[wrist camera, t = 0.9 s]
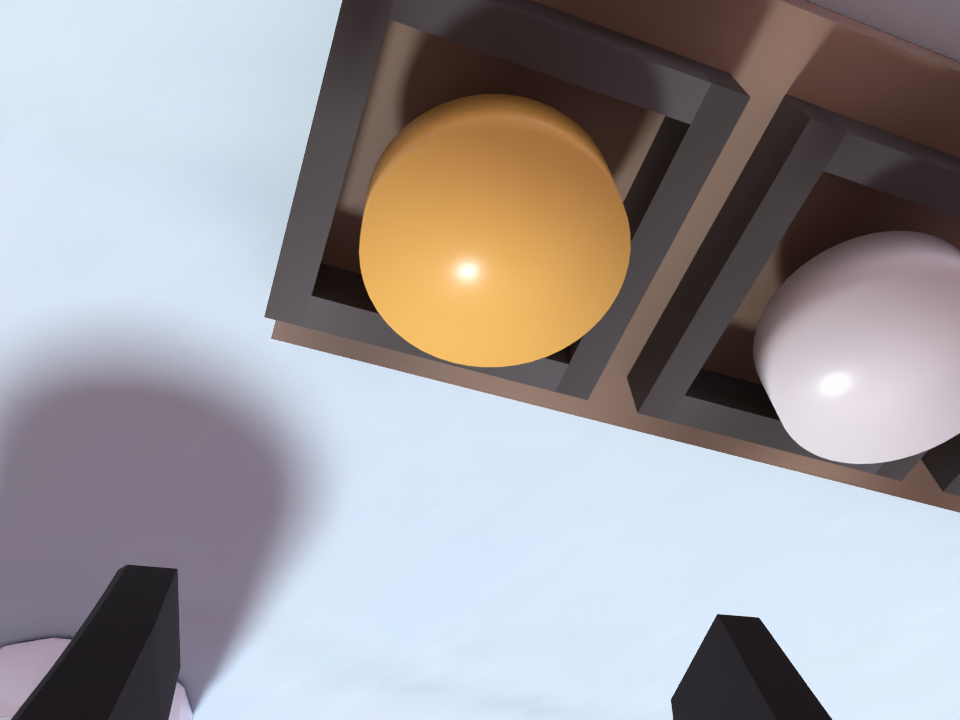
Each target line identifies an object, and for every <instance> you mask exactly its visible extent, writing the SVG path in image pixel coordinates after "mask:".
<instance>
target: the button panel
mask: <svg viewBox="0 0 960 720" xmlns="http://www.w3.org/2000/svg"><path fill="white" fill-rule="evenodd" d="M481 94H506V95H514V96H521V97H525V98H528V99H532V100H536V101H539V102H541V103H543V104H546V105H548V106H551V107H553V108H555V109H556V110H558V111H560V112H561V113H563V114H565V115H566V116H568V117H569V118H570V119H572V120H573V121H574V122H575V123H577V124H578V125H579V126H580V127H581V128H582V129H583V130H584V131H585V132H586V133H587V134H588V135H589V136H590V137H591V138H592V140H593V141H594V143H595V144H596V145H597V147H598V148H599V150H600V151H601V153H602V155H603V157H604V159H605V161H606V163H607V165H608V168H609V170H610V172H611V175H612V177H613V180H614V182H615V185H616V187H617V190H618V192H619V195H620V197H621V200H622V202H623V205H624V208H625V211H626V214H627V217H628V223H629V229H630V244H631V250H630V258H629V265H628V269H627V272H626V276H625V279H624V282H623V284H622V286H621V289H620V291H619V293H618V295H617V297H616V299H615V300H614V302H613V303H612V305H611V307H610V308H609V310H608V311H607V312H606V313H605V315H604V316H603V317H602V318H601V320H600V321H599V322H598V323H597V324H596V325H595V326H594V327H593V328H592V329H591V330H590V331H588V332H587V333H586V334H585V335H583V336H582V337H581V338H579V339H578V340H577V341H575V342H574V343H572V344H570V345H569V346H567V347H566V348H564V349H562V350H560V351H558V352H556V353H554V354H552V355H549V356H547V357H544V358H541V359H538V360H535V361H532V362H528V363H524V364H519V365H513V366H505V367H476V366H467V365H462V364H457V363H452V362H449V361H446V360H443V359H440V358H437V357H435V356H432V355H430V354H428V353H426V352H424V351H422V350H420V349H418V348H417V347H415V346H413V345H412V344H410V343H409V342H407V341H406V340H405V339H403V338H402V337H401V336H400V335H398V334H397V333H396V332H395V331H394V330H393V329H392V328H391V327H390V326H389V325H388V324H387V323H386V322H385V320H384V319H383V318H382V316H381V315H380V314H379V312H378V311H377V310H376V308H375V306H374V304H373V302H372V301H371V299H370V297H369V295H368V292H367V290H366V287H365V284H364V281H363V277H362V273H361V268H360V257H359V246H360V234H361V227H362V220H363V214H364V207H365V200H366V194H367V190H368V185H369V181H370V178H371V176H372V173H373V170H374V168H375V165H376V163H377V162H378V160H379V158H380V156H381V154H382V153H383V151H384V150H385V148H386V147H387V146H388V144H389V143H390V142H391V140H392V139H393V138H394V137H395V136H396V135H397V134H398V133H399V132H400V131H401V130H402V129H403V128H404V127H405V126H406V125H408V124H409V123H410V122H412V121H413V120H414V119H415V118H417V117H418V116H420V115H421V114H423V113H425V112H427V111H428V110H430V109H432V108H434V107H436V106H439V105H441V104H444V103H446V102H448V101H451V100H455V99H459V98H463V97H466V96H473V95H481ZM886 231H913V232H921V233H925V234H929V235H932V236H936V237H938V238H940V239H943V240H945V241H947V242H949V243H950V244H952V245H953V246H955V247H956V248H958V249H959V250H960V62H958V61H956V60H953V59H951V58H948V57H946V56H943V55H941V54H938V53H936V52H933V51H931V50H928V49H926V48H923V47H921V46H918V45H916V44H913V43H911V42H908V41H906V40H903V39H901V38H898V37H896V36H893V35H891V34H888V33H886V32H883V31H881V30H878V29H876V28H873V27H871V26H868V25H866V24H863V23H861V22H858V21H856V20H853V19H851V18H848V17H846V16H843V15H841V14H838V13H836V12H833V11H831V10H828V9H826V8H823V7H821V6H818V5H816V4H813V3H811V2H808V1H806V0H343V1H342V5H341V9H340V13H339V17H338V21H337V25H336V29H335V33H334V37H333V41H332V45H331V49H330V53H329V57H328V61H327V65H326V69H325V73H324V78H323V82H322V86H321V90H320V94H319V98H318V102H317V106H316V110H315V114H314V118H313V122H312V126H311V130H310V134H309V138H308V142H307V146H306V151H305V155H304V159H303V163H302V167H301V171H300V175H299V179H298V183H297V187H296V191H295V195H294V199H293V203H292V207H291V211H290V215H289V219H288V223H287V228H286V232H285V236H284V240H283V244H282V248H281V252H280V256H279V260H278V264H277V268H276V272H275V276H274V280H273V284H272V288H271V292H270V296H269V300H268V305H267V309H266V313H265V317H266V318H270V319H274V320H276V322H275V326H274V330H273V334H272V337H271V339H275V340H279V341H283V342H287V343H291V344H295V345H299V346H303V347H307V348H311V349H315V350H319V351H323V352H327V353H331V354H335V355H339V356H343V357H347V358H350V359H354V360H358V361H362V362H366V363H370V364H374V365H378V366H382V367H386V368H390V369H394V370H398V371H402V372H406V373H410V374H414V375H418V376H422V377H426V378H430V379H434V380H438V381H442V382H445V383H449V384H453V385H457V386H461V387H465V388H469V389H473V390H477V391H481V392H485V393H489V394H493V395H497V396H501V397H505V398H509V399H513V400H517V401H521V402H525V403H529V404H533V405H537V406H541V407H544V408H548V409H552V410H556V411H560V412H564V413H568V414H572V415H576V416H580V417H584V418H588V419H592V420H596V421H600V422H604V423H608V424H612V425H616V426H620V427H624V428H628V429H632V430H636V431H639V432H643V433H647V434H651V435H655V436H659V437H663V438H667V439H671V440H675V441H679V442H683V443H687V444H691V445H695V446H699V447H703V448H707V449H711V450H715V451H719V452H723V453H727V454H731V455H734V456H738V457H742V458H746V459H750V460H754V461H758V462H762V463H766V464H770V465H774V466H778V467H782V468H786V469H790V470H794V471H798V472H802V473H806V474H810V475H814V476H818V477H822V478H826V479H830V480H833V481H837V482H841V483H845V484H849V485H853V486H857V487H861V488H865V489H869V490H873V491H877V492H881V493H885V494H889V495H893V496H897V497H901V498H905V499H909V500H913V501H917V502H921V503H925V504H928V505H932V506H936V507H940V508H944V509H948V510H952V511H956V512H960V433H959V434H957V435H956V436H954V437H952V438H951V439H949V440H947V441H946V442H944V443H942V444H940V445H937V446H935V447H933V448H931V449H929V450H926V451H924V452H921V453H919V454H916V455H913V456H909V457H906V458H902V459H898V460H893V461H889V462H882V463H873V464H852V463H842V462H837V461H832V460H828V459H825V458H822V457H819V456H817V455H815V454H813V453H811V452H809V451H807V450H806V449H804V448H803V447H801V446H800V445H799V444H798V443H797V442H796V441H795V440H793V439H792V438H791V436H790V435H789V434H788V432H787V431H786V429H785V428H784V426H783V424H782V422H781V420H780V418H779V416H778V414H777V412H776V410H775V408H774V406H773V404H772V402H771V400H770V398H769V396H768V394H767V392H766V390H765V388H764V386H763V384H762V383H761V380H760V378H759V376H758V374H757V372H756V368H755V364H754V358H753V343H754V336H755V332H756V328H757V324H758V322H759V319H760V317H761V314H762V312H763V311H764V309H765V307H766V305H767V304H768V302H769V300H770V299H771V298H772V296H773V295H774V293H775V292H776V291H777V289H778V288H779V287H780V286H781V285H782V284H783V283H784V282H785V281H786V279H787V278H788V277H789V276H791V275H792V274H793V273H794V272H795V271H796V270H797V269H798V268H800V267H801V266H802V265H804V264H805V263H806V262H808V261H809V260H811V259H812V258H813V257H815V256H817V255H819V254H820V253H822V252H824V251H825V250H827V249H829V248H831V247H833V246H836V245H838V244H840V243H842V242H845V241H848V240H850V239H853V238H856V237H859V236H864V235H868V234H872V233H878V232H886Z"/></svg>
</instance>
